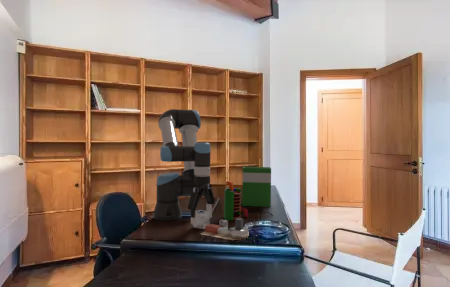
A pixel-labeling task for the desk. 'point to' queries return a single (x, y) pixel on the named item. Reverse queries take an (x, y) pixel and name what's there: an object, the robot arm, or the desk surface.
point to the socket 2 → (223, 223)
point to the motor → (232, 202)
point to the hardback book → (256, 186)
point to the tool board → (218, 235)
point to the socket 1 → (202, 219)
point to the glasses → (250, 213)
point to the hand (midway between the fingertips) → (201, 220)
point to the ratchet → (230, 230)
